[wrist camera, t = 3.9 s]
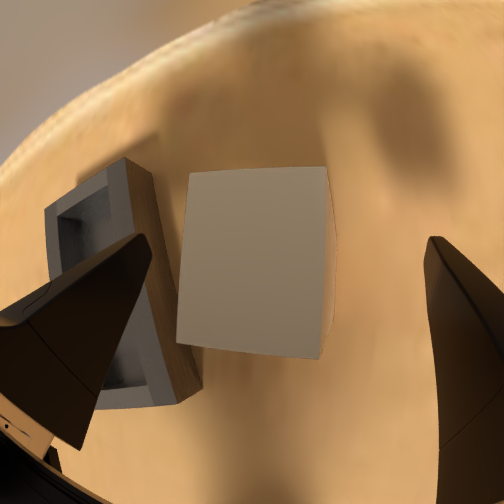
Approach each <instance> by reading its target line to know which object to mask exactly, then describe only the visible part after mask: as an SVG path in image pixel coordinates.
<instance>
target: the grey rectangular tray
mask: <svg viewBox="0 0 504 504" xmlns="http://www.w3.org/2000/svg"><path fill="white" fill-rule="evenodd" d="M44 211H45V234H46V249H47V260H48V270H49V278H50V281H51V280H54V279H55V278H56V277H58V276H59V275H61V274H63V273H64V272H66V271H68V270H69V269H71V268H73V267H74V266H76V265H78V264H79V263H81V262H83V261H84V260H86V259H88V258H89V257H91V256H93V255H95V254H96V253H98V252H100V251H101V250H103V249H105V248H107V247H108V246H110V245H112V244H114V243H116V242H117V241H119V240H121V239H123V238H124V237H126V236H128V235H130V234H132V233H143V234H145V236H146V238H147V240H148V243H149V245H150V248H151V250H152V260H151V263H150V266H149V269H148V272H147V275H146V278H145V281H144V284H143V287H142V289H141V292H140V295H139V297H138V300H137V302H136V304H135V307H134V309H133V311H132V314H131V316H130V318H129V321H128V323H127V325H126V328H125V330H124V333H123V335H122V337H121V340H120V342H119V345H118V347H117V350H116V352H115V355H114V357H113V360H112V362H111V365H110V368H109V370H108V373H107V376H106V378H105V381H104V384H103V386H102V389H101V392H100V395H99V397H98V401H97V404H96V406H95V409H94V410H105V409H127V408H142V407H154V406H164V405H174V404H179V403H180V402H182V401H184V400H185V399H187V398H189V397H190V396H192V395H194V394H195V393H197V392H199V391H200V390H202V385H201V382H200V379H199V376H198V372H197V369H196V365H195V362H194V359H193V355H192V352H191V348H190V345H187V344H181V343H176V334H177V312H178V299H177V295H176V291H175V287H174V283H173V278H172V274H171V270H170V265H169V261H168V256H167V252H166V247H165V242H164V237H163V233H162V228H161V223H160V218H159V212H158V207H157V202H156V196H155V191H154V185H153V179H152V173H150V172H149V171H147V170H145V169H144V168H142V167H140V166H139V165H137V164H135V163H134V162H132V161H130V160H129V159H127V158H126V157H124V158H122V159H120V160H119V161H117V162H115V163H114V164H112V165H110V166H109V167H107V168H105V169H104V170H102V171H100V172H99V173H97V174H96V175H94V176H92V177H91V178H89V179H88V180H86V181H85V182H83V183H82V184H80V185H79V186H77V187H76V188H74V189H73V190H71V191H70V192H68V193H67V194H65V195H64V196H62V197H61V198H59V199H58V200H57V201H55V202H54V203H52V204H51V205H49V206H48V207H47V208H45V209H44Z"/></svg>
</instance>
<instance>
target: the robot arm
mask: <svg viewBox="0 0 504 504" xmlns="http://www.w3.org/2000/svg"><path fill="white" fill-rule="evenodd" d="M151 260H152V250H151V248H150V245H149V243H148V240H147V238H146V236H145V234H143V233H132V234H130V235H128V236H126V237H124V238H123V239H121V240H119V241H117V242H116V243H114V244H112V245H110V246H108V247H107V248H105V249H103V250H101V251H100V252H98V253H96V254H95V255H93V256H91V257H89V258H88V259H86V260H84V261H83V262H81V263H79V264H78V265H76V266H74V267H73V268H71V269H69V270H68V271H66V272H64V273H63V274H61V275H59V276H58V277H56V278H55V279H54V280H51V281H50V282H48V283H47V284H45V285H43V286H42V287H40V288H38V289H37V290H35V291H34V292H32V293H30V294H29V295H27V296H25V297H24V298H22V299H20V300H18V301H17V302H15V303H13V304H12V305H10V306H8V307H7V308H5V309H3V310H2V311H0V504H113V503H111V502H109V501H107V500H105V499H103V498H101V497H99V496H98V495H96V494H94V493H92V492H91V491H89V490H87V489H85V488H84V487H82V486H80V485H79V484H77V483H76V482H74V481H72V480H71V479H69V478H68V477H66V476H65V475H63V474H62V470H61V466H60V461H59V457H58V453H57V449H56V448H54V447H53V446H51V445H50V444H51V442H52V440H53V438H54V436H55V437H57V438H58V439H60V440H61V441H63V442H65V443H66V444H68V445H70V446H72V447H73V448H75V449H77V450H79V451H80V450H81V448H82V446H83V443H84V439H85V436H86V433H87V430H88V427H89V424H90V421H91V418H92V415H93V412H94V409H95V406H96V404H97V401H98V397H99V395H100V392H101V389H102V386H103V384H104V381H105V378H106V376H107V373H108V370H109V368H110V365H111V362H112V360H113V357H114V355H115V352H116V350H117V347H118V345H119V342H120V340H121V337H122V335H123V333H124V330H125V328H126V325H127V323H128V321H129V318H130V316H131V314H132V311H133V309H134V307H135V304H136V302H137V300H138V297H139V295H140V292H141V289H142V287H143V284H144V281H145V278H146V275H147V272H148V269H149V266H150V263H151ZM424 276H425V287H426V301H427V313H428V320H429V326H430V333H431V340H432V347H433V355H434V364H435V374H436V385H437V399H438V420H439V463H438V485H437V498H436V504H504V293H503V292H502V291H501V290H500V289H499V288H498V287H497V286H496V285H495V284H494V283H493V282H492V281H491V280H490V279H489V278H488V277H487V276H486V275H484V274H483V273H482V272H481V271H480V270H479V269H478V268H477V267H476V266H475V265H474V264H473V263H472V262H471V261H470V260H469V259H467V258H466V257H465V256H464V255H463V254H462V253H461V252H460V251H459V250H457V249H456V248H455V247H454V246H453V245H452V244H451V243H449V242H448V241H447V240H446V239H445V238H444V237H442V236H430V237H429V239H428V242H427V247H426V252H425V257H424Z"/></svg>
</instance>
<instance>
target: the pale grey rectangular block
mask: <svg viewBox="0 0 504 504" xmlns="http://www.w3.org/2000/svg"><path fill="white" fill-rule="evenodd" d="M336 260H337V238H336V230H335V222H334V215H333V208H332V201H331V194H330V187H329V181H328V175H327V169H326V166H304V167H272V168H250V169H234V170H219V171H206V172H194V173H190V175H189V183H188V191H187V200H186V209H185V219H184V230H183V240H182V252H181V265H180V279H179V294H178V312H177V334H176V343H181V344H187V345H193V346H200V347H206V348H213V349H220V350H228V351H235V352H243V353H252V354H261V355H270V356H280V357H292V358H304V359H318V360H319V358H320V355H321V353H322V350H323V347H324V345H325V342H326V339H327V336H328V333H329V331H330V328H331V325H332V322H333V319H334V304H335V285H336Z"/></svg>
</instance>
